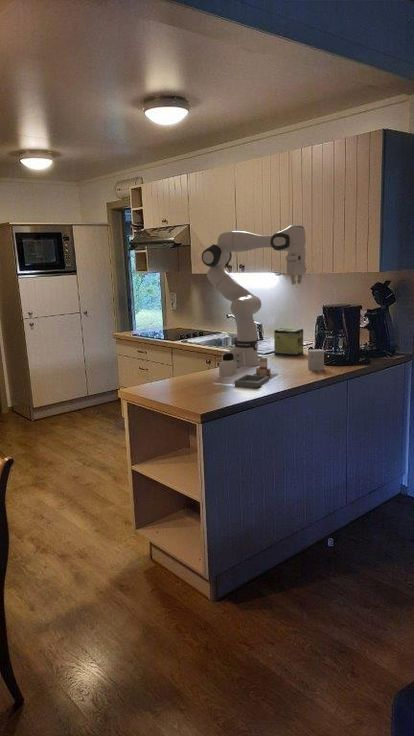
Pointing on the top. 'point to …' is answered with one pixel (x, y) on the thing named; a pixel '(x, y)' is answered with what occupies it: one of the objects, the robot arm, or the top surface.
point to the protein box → (288, 342)
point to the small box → (316, 359)
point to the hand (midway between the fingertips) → (296, 283)
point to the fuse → (262, 366)
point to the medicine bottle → (227, 365)
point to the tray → (251, 381)
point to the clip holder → (267, 373)
